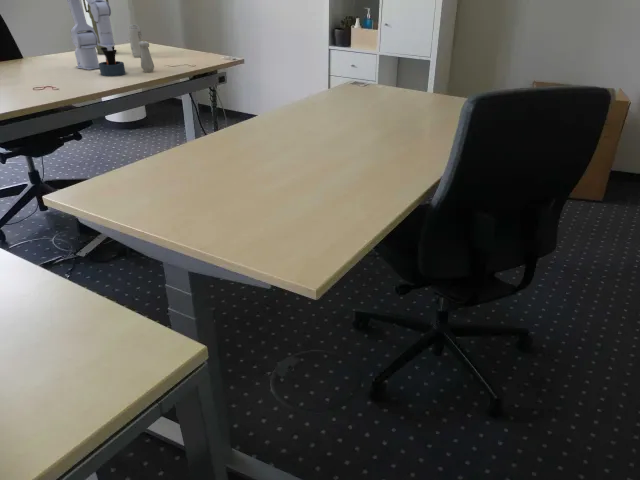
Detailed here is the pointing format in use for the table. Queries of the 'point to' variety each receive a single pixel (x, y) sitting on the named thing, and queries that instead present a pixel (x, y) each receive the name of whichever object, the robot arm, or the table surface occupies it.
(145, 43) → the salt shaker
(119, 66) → the dark blue bowl
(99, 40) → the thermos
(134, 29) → the energy drink can
